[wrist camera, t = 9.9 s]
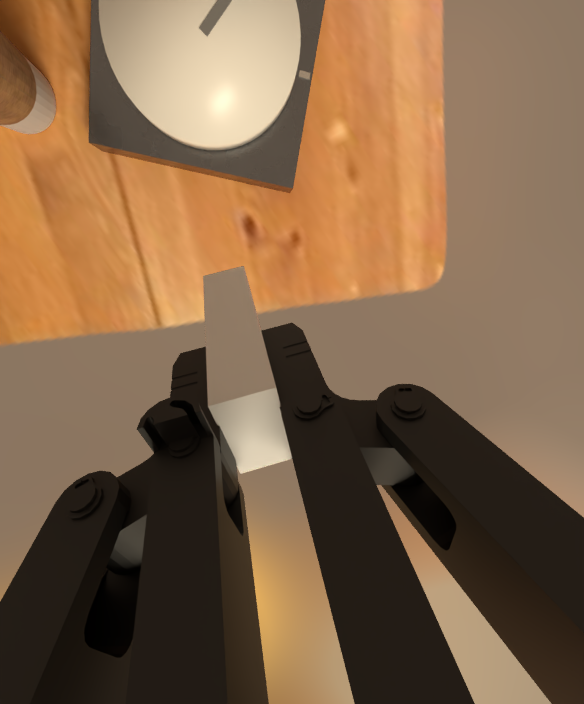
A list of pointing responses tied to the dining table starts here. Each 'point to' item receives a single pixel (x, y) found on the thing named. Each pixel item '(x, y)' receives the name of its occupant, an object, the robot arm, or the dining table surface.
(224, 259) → the dining table surface
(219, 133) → the dial
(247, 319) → the robot arm
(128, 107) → the dial housing
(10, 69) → the coffee cup
